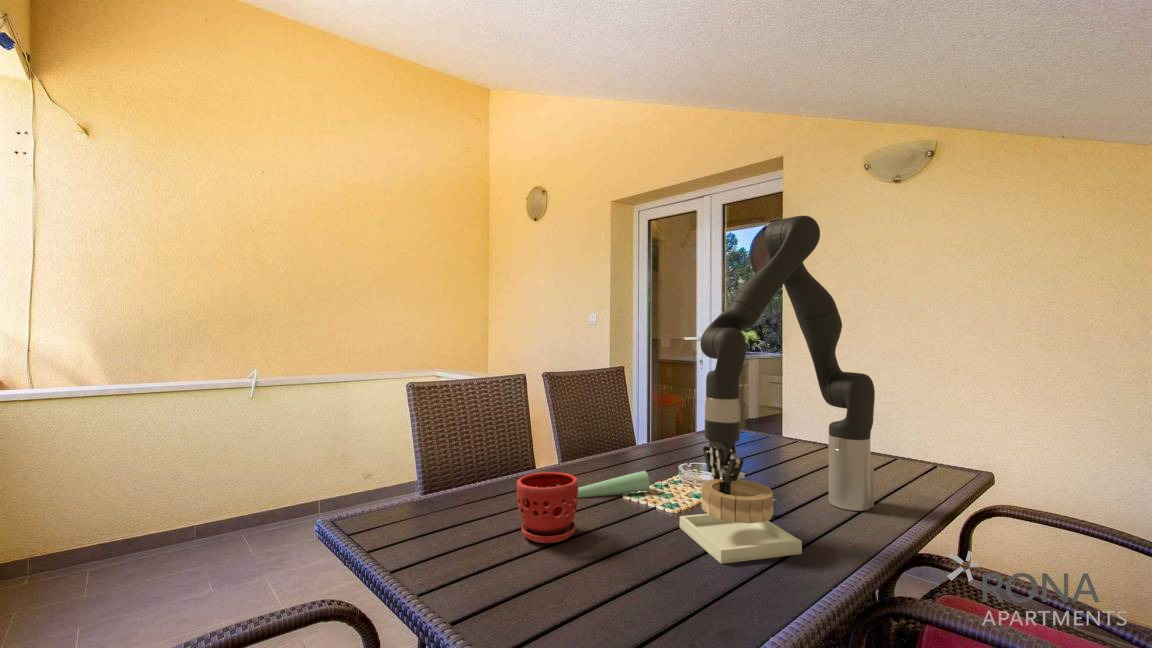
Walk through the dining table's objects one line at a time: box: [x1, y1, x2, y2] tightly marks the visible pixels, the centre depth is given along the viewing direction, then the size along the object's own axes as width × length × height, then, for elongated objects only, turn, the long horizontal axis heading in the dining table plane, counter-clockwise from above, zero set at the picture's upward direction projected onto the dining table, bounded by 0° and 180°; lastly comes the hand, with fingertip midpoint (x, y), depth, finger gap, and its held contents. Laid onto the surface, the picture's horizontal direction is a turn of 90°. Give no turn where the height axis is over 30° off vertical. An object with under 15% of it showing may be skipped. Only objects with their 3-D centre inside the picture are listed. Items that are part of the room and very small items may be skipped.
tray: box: [679, 513, 803, 564], centre depth 105 cm, size 18×18×2 cm
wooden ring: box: [701, 478, 774, 523], centre depth 105 cm, size 14×14×4 cm
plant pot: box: [516, 471, 579, 544], centre depth 108 cm, size 13×13×12 cm
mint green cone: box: [577, 470, 651, 499], centre depth 134 cm, size 5×6×27 cm
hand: (721, 496), depth 111 cm, fingers closed on wooden ring, 2 cm apart
